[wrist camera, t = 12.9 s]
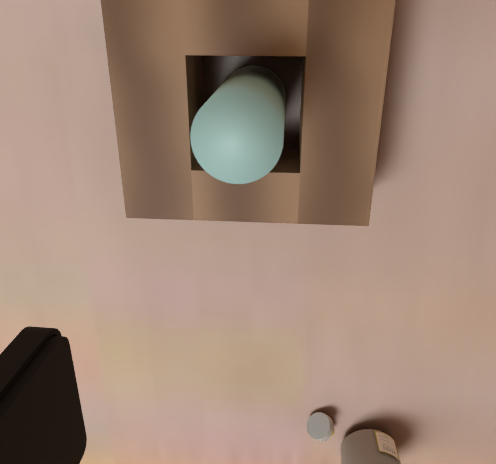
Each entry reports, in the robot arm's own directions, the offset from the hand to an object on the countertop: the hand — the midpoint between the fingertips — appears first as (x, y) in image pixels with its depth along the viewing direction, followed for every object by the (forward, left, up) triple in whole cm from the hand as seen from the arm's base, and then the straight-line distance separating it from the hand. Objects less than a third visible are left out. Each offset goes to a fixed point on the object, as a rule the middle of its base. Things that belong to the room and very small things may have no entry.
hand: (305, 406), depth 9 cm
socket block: (+3, -2, -23) cm, 23 cm away
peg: (+3, -2, -23) cm, 23 cm away
